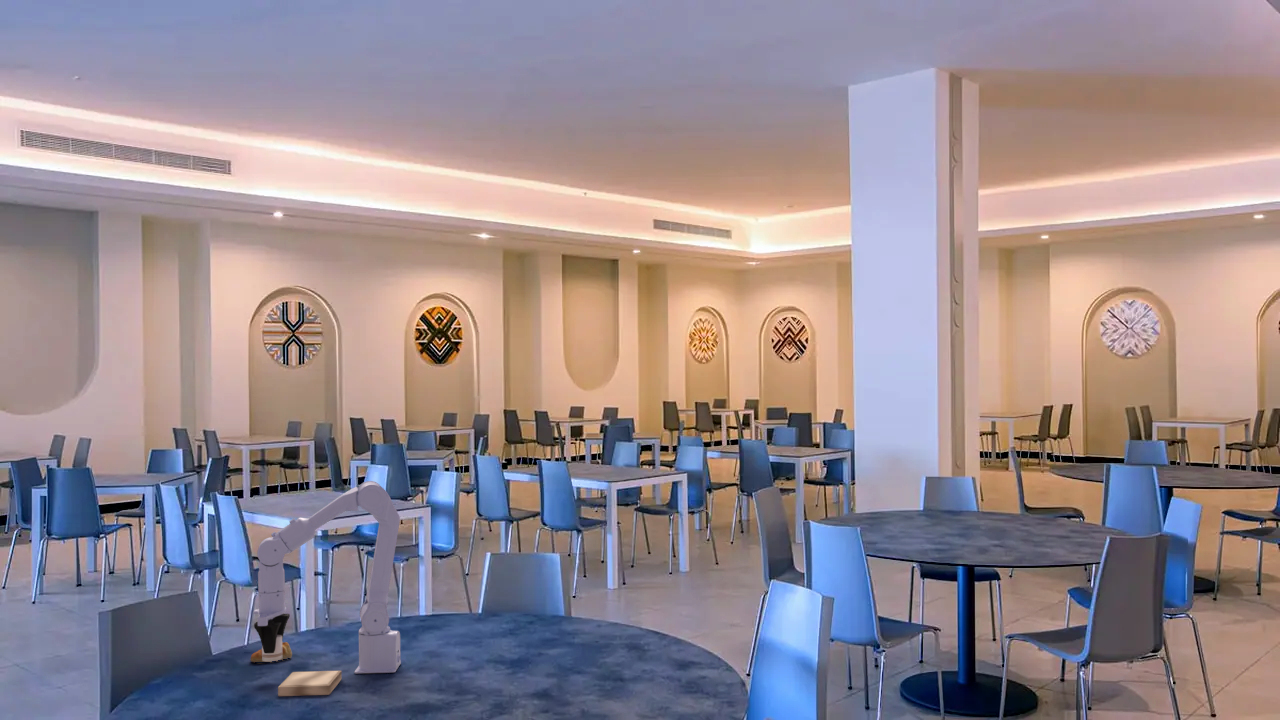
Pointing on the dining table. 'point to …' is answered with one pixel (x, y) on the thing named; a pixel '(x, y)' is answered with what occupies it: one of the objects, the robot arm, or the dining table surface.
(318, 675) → the base board
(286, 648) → the pastry
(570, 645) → the dining table surface
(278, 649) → the pot
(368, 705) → the dining table surface
